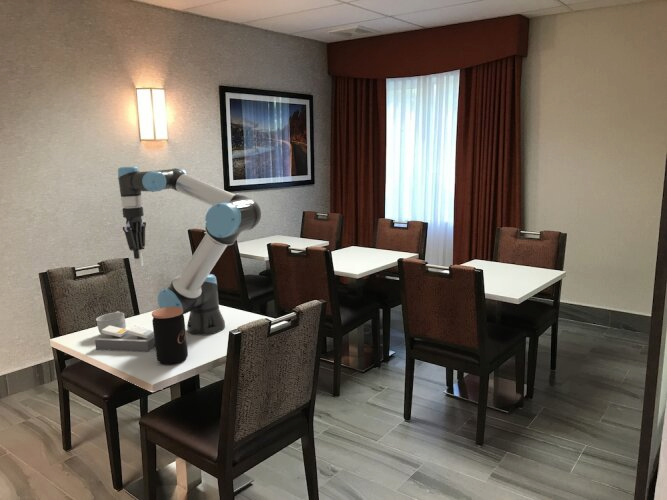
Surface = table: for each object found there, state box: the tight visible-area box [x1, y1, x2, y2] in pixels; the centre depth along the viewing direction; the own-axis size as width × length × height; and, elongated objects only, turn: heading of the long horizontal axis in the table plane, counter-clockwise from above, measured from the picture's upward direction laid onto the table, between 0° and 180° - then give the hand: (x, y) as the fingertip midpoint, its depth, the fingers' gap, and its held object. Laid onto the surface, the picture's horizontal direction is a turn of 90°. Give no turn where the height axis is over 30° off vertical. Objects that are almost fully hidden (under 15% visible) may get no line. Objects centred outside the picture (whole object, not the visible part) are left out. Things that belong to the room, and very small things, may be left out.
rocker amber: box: [102, 326, 129, 337], centre depth 209 cm, size 8×5×1 cm, turn 78°
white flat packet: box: [127, 325, 154, 338], centre depth 206 cm, size 8×5×1 cm, turn 79°
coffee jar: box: [151, 307, 189, 366], centre depth 191 cm, size 11×11×18 cm
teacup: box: [95, 310, 127, 336], centre depth 223 cm, size 14×11×8 cm
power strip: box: [94, 333, 156, 353], centre depth 208 cm, size 26×10×5 cm, turn 78°
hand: (139, 266), depth 215 cm, fingers closed
